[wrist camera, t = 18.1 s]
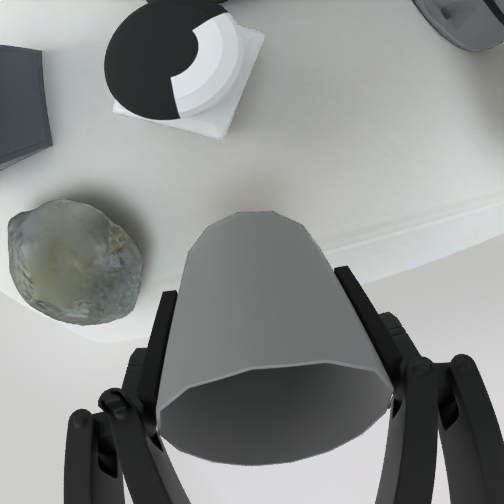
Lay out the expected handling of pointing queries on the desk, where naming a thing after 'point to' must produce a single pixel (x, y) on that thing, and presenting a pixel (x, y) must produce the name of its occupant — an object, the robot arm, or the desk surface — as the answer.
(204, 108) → the container
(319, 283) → the cup
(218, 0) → the owl
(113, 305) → the decorative stone
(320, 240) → the desk surface
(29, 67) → the basket
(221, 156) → the desk surface
